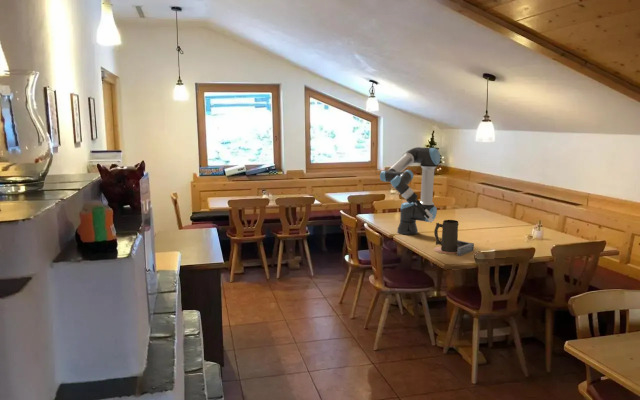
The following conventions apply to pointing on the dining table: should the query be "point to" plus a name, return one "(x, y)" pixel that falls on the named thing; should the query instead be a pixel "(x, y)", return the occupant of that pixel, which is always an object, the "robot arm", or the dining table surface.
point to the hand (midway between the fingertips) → (432, 219)
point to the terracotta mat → (438, 249)
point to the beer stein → (448, 235)
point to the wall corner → (464, 247)
